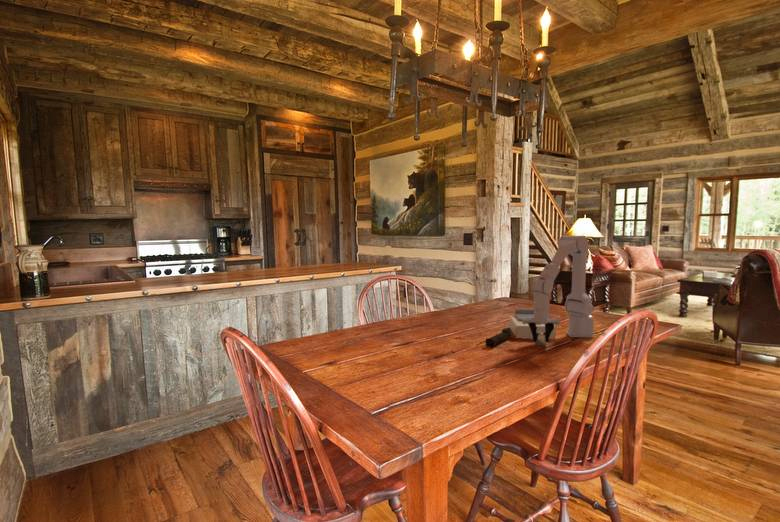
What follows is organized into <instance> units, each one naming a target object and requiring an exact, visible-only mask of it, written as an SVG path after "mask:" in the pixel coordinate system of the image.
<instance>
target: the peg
mask: <svg viewBox="0 0 780 522" xmlns="http://www.w3.org/2000/svg"><path fill="white" fill-rule="evenodd" d="M534 343H535V346H537V347H546V346H547V342H546V333H545V332H541V331H538V332H536V342H534Z"/></svg>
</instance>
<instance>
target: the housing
mask: <svg viewBox="0 0 780 522" xmlns="http://www.w3.org/2000/svg"><path fill="white" fill-rule="evenodd" d="M536 327H537V331H536V332H538V331H541V332H545V324H536ZM509 328H510V329H511V333H512V334H513V335H514V337H515V338H516V339H517V338H522V339H521V340H523V339H525V340H528V339H529V340H533V335H532V332H531V329H530V327H529V325H528V324H522V320H518V318H517V317H516V316H515V315H509ZM556 334H557V326H556V324H554V329H553V330H552V332H551V334H550V337H549V340H556V339H557V338H556V337H557V335H556Z"/></svg>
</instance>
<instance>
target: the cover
mask: <svg viewBox="0 0 780 522" xmlns="http://www.w3.org/2000/svg"><path fill="white" fill-rule="evenodd" d="M514 316H516V317H517V318H518V320H522V318H534V308H514Z"/></svg>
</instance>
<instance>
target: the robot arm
mask: <svg viewBox="0 0 780 522" xmlns="http://www.w3.org/2000/svg"><path fill="white" fill-rule="evenodd" d="M557 246H558V247H557V250H556V251H555V254H554V256H553V258H552V260H551V261H550V263H547V264H545V266H544V267H543V269H542V271H541V272H540V274H539V275H538V277H537V278H534V279H533V281H531V285H530V289H531V292H532V296H533V309H534V318H522V324H528V325H529V327H530V329H531V332H532V335H533V339H532V340H533V342H534V343H535V342H536V331H537V327H536V324H545V333H546V343H549V340H550V339H549V337H550V334H551V332H552V330H553V329H554V325H559V326H560V325H561V319H560V318H553V317H551V318H550V313H549V312H550V294H551V293H552V291H553V290H554V285H555V282H554V281H555V280H556V278H557V277H558V275H559V273H560V268H559V267H560V266H561V265H562V263H563V262H564V261H565V259H566V258H567V256H568V255H570V256H572V268H571V269H572V272H571V292H570V293H569V294H568V295H567V296H566V300H565V303H564V309H565V311H566V312H567V315H568V331H567V330H565V331H564V332H565V333H566V334H567V336H569V337H570V338H591V339H592V338H593V337H594V338H595V336H594V329H595V328H594V327H595V326H594V325H595V322H594V318H593V317H594V316H592V315H591V314H592V312H593V304H592V298H591V297H590V296H589V295H588V294H587V293H586V280H587V279H586V278H587V277H586V276H587V274H586V273H587V255H588V254H589V240H588V238H587V237H586V236H585V235H566V234H563V235H561V236H560V237H559V239H558V241H557Z"/></svg>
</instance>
